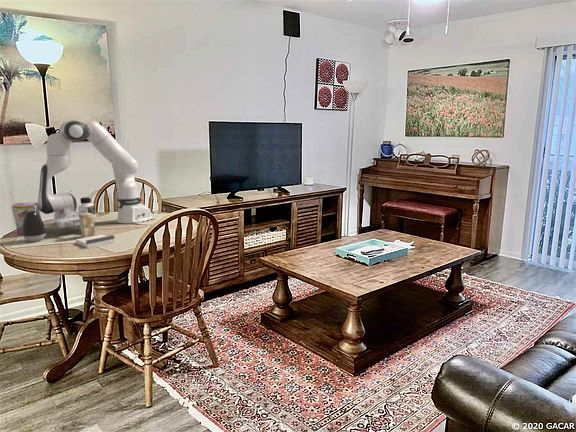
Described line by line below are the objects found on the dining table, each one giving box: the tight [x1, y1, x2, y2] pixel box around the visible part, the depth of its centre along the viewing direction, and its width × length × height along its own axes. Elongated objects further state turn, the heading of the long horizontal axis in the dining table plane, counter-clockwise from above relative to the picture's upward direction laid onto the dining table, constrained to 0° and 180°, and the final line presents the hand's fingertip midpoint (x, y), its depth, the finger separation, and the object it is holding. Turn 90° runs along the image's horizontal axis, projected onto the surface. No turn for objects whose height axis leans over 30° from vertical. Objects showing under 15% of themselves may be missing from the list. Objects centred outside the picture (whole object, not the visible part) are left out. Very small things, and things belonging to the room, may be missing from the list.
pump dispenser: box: [21, 211, 46, 243], centre depth 215 cm, size 10×10×15 cm
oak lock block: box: [79, 213, 96, 238], centre depth 222 cm, size 5×5×12 cm
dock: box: [75, 234, 116, 249], centre depth 211 cm, size 13×13×4 cm
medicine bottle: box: [77, 196, 97, 216], centre depth 274 cm, size 7×7×12 cm
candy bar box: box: [11, 202, 41, 235], centre depth 228 cm, size 11×5×16 cm, turn 99°
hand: (82, 223), depth 226 cm, fingers open, 8 cm apart
